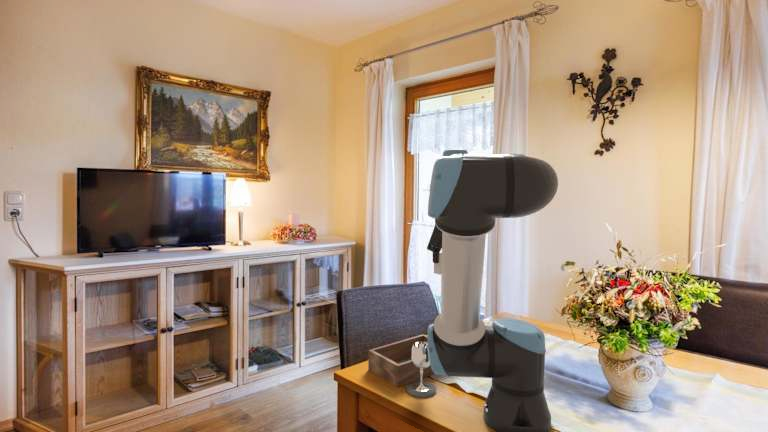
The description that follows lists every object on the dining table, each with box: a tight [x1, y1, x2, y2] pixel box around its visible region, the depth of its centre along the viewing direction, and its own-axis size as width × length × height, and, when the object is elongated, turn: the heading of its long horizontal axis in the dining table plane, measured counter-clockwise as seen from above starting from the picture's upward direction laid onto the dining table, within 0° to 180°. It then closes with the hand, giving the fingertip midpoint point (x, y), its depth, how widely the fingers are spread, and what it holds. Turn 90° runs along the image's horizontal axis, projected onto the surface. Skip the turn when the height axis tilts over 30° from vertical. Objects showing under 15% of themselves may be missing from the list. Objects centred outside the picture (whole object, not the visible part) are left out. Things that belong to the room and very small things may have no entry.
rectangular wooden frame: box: [367, 333, 436, 388], centre depth 130 cm, size 14×22×6 cm, turn 127°
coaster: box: [405, 380, 437, 398], centre depth 117 cm, size 8×8×1 cm
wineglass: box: [410, 342, 430, 392], centre depth 116 cm, size 6×6×12 cm
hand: (453, 270), depth 132 cm, fingers open, 13 cm apart
